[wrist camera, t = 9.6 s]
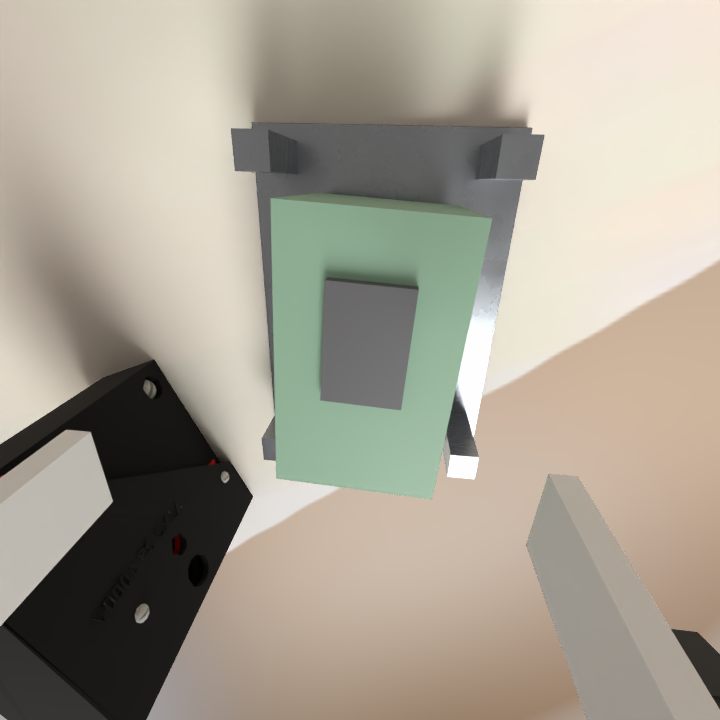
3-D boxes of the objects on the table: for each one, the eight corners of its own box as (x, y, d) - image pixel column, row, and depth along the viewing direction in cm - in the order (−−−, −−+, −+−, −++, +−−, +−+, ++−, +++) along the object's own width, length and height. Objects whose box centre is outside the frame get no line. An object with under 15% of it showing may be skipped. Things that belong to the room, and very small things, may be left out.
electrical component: (85, 383, 37) (-220, 575, 19) (170, 353, 34) (-86, 541, 16) (181, 513, 43) (21, 749, 25) (258, 495, 41) (143, 743, 23)
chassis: (278, 418, 36) (252, 468, 30) (256, 124, 26) (209, 105, 20) (470, 434, 35) (486, 490, 28) (527, 129, 24) (571, 111, 18)
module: (312, 392, 31) (271, 485, 21) (317, 192, 25) (263, 198, 15) (424, 406, 30) (434, 507, 21) (460, 205, 24) (498, 220, 14)
